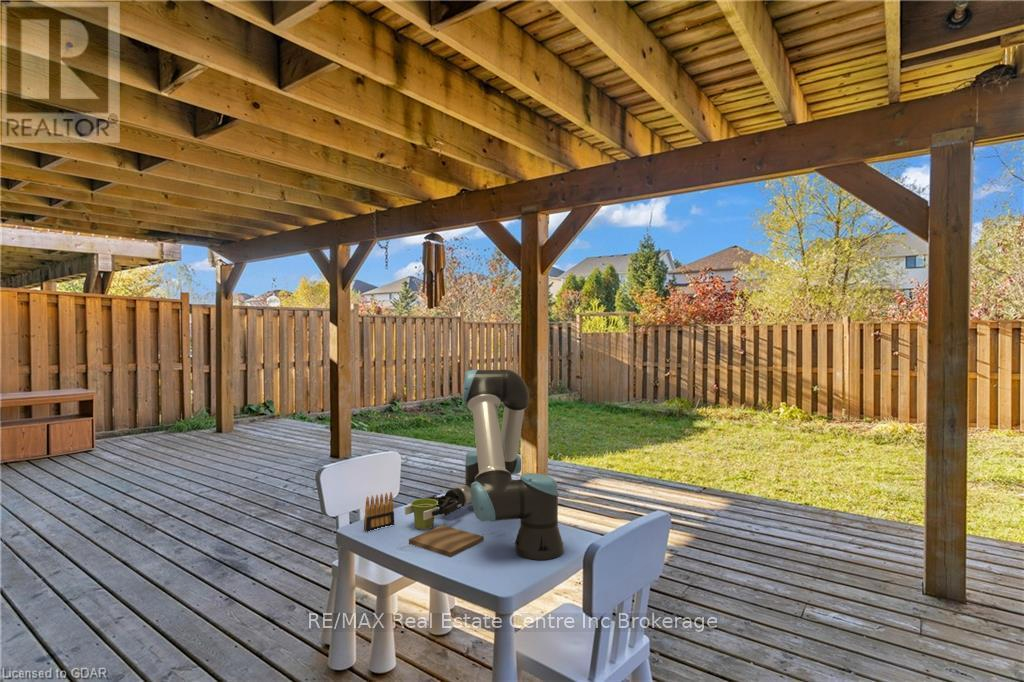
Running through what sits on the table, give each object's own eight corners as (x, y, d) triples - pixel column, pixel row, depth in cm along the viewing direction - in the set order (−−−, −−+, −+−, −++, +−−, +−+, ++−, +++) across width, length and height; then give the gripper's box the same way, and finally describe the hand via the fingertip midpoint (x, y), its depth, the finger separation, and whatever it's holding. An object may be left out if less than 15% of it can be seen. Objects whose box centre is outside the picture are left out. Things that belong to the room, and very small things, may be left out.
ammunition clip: (366, 532, 178) (366, 497, 178) (363, 531, 179) (363, 496, 179) (394, 525, 185) (394, 491, 185) (392, 524, 186) (392, 490, 186)
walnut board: (483, 540, 170) (483, 536, 170) (450, 557, 157) (450, 552, 157) (443, 529, 181) (443, 525, 181) (408, 543, 168) (408, 539, 168)
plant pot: (435, 521, 189) (435, 497, 189) (440, 530, 180) (440, 505, 180) (409, 524, 186) (409, 499, 186) (412, 533, 177) (412, 507, 177)
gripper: (480, 512, 192) (437, 530, 173) (438, 502, 204) (393, 518, 186) (480, 492, 192) (437, 508, 173) (438, 483, 204) (393, 497, 186)
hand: (414, 513), depth 179 cm, fingers closed on plant pot, 8 cm apart
